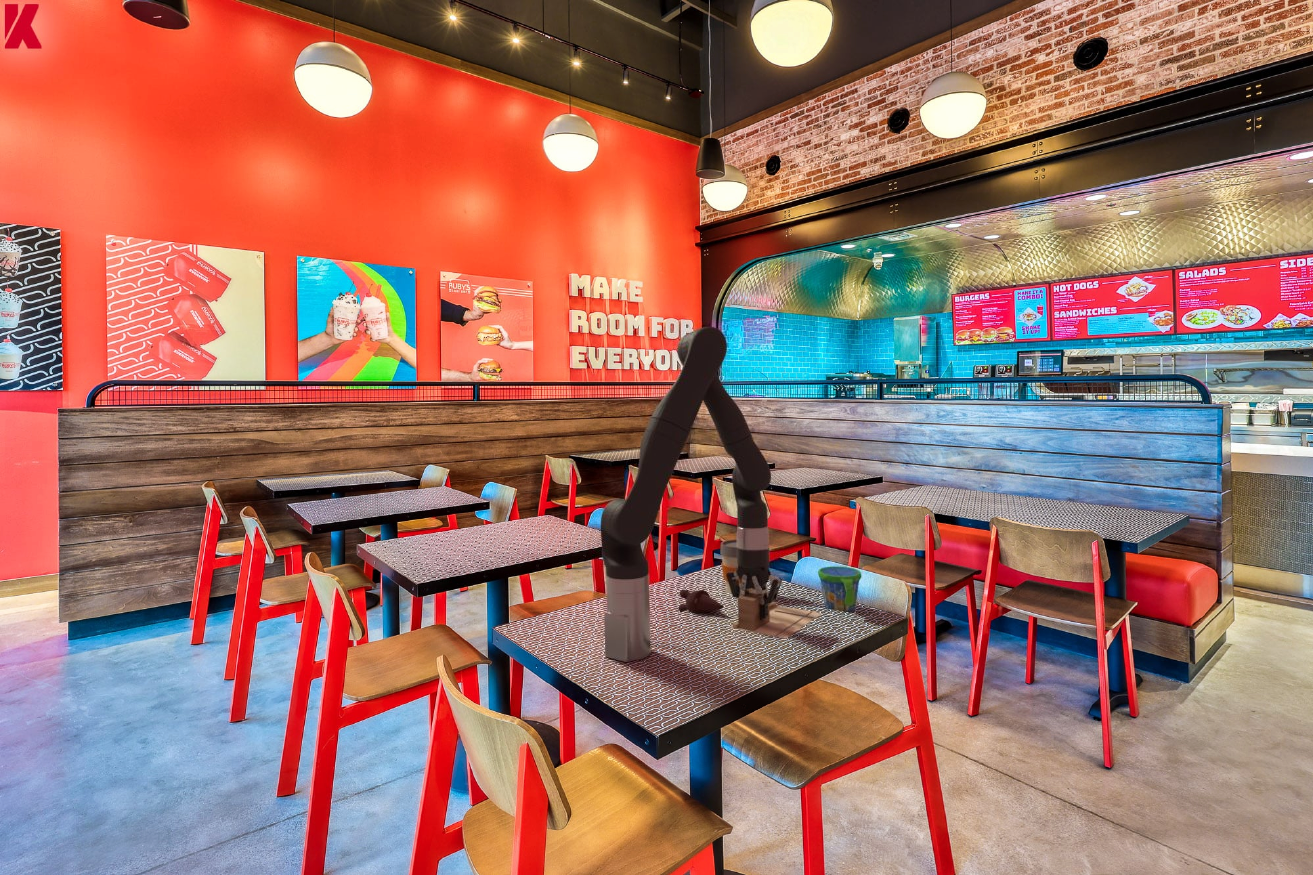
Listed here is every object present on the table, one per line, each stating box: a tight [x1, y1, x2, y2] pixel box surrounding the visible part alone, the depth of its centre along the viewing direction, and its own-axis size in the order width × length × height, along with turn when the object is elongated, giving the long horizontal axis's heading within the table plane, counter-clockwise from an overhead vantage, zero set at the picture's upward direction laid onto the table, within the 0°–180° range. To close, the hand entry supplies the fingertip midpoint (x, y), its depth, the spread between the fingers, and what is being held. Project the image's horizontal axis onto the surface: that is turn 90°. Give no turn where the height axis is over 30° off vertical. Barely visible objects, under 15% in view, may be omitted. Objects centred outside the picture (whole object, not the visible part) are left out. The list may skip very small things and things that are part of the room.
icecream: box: [677, 589, 724, 615], centre depth 161 cm, size 7×7×15 cm
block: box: [737, 590, 770, 631], centre depth 149 cm, size 9×4×7 cm, turn 143°
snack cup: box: [817, 565, 862, 614], centre depth 163 cm, size 16×10×10 cm
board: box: [730, 601, 823, 640], centre depth 152 cm, size 21×14×2 cm, turn 143°
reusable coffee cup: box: [720, 538, 755, 595], centre depth 177 cm, size 13×13×15 cm
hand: (754, 617), depth 149 cm, fingers closed on block, 4 cm apart
